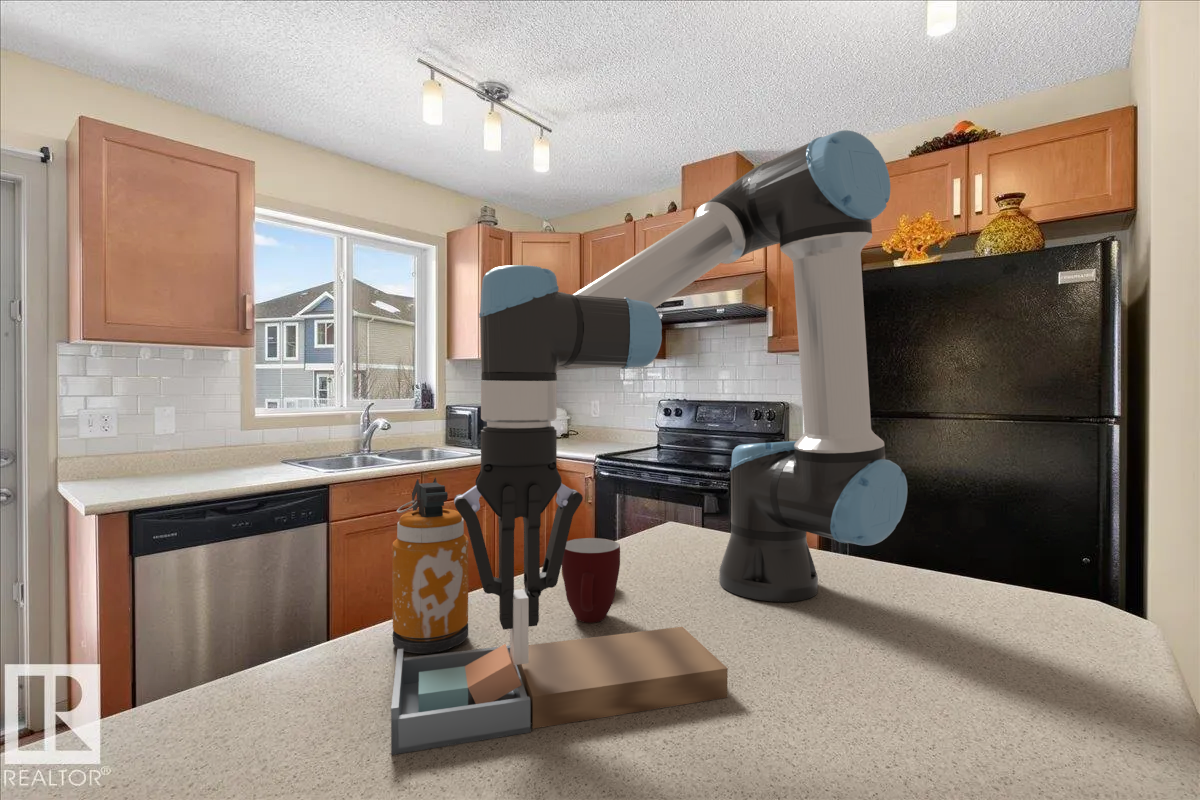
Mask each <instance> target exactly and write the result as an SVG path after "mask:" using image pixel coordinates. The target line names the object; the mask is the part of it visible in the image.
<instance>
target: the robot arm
mask: <svg viewBox="0 0 1200 800" xmlns="http://www.w3.org/2000/svg"><path fill="white" fill-rule="evenodd" d="M890 197H891V179H890V173H889V169H888V166H887V164H886V161H885V160H884V157H883V156H882V154H881V152H880V151H879V149H877V148H876V146H875V145H874V144H873V142H872V141H871V140H869V139H868V138H867V137H866V136H864V135H863V134H861V133H859V132H856V131H853V130H844V129H843V130H838V131H835V132H833V133H830V134H827V135H824V136H818V137H816V138H814V139H812V140H810V142H808V143H806V144H804V145H802V146H800V147H797V148H795V149H793V150H790V151H789V152H787V153H784V154H782V155H779V156H778V157H776V158H773V159H771V160H770V161H766V162H764V163H762V164H760V165H758V166H756V167H754V168H753V169H751V170H749V171H748V172H747V173H745V174H744V175H742V176H740V178H738V179H737V180H736V181H734V182H732V183H731V184H730V185H728V186H727V187H726V188H725V189H723V190H722V191H721V192H719V193H718V194H716V195H715V196H714V197H712V198H711V199H709V200H708V201H706V202H704V203H703V204H701V205H700V206H699V207H698V208H697V209H696V211H695V214H694V217H693V218H692V219H691V220H689V221H688V222H687V223H684V224H682V225H681V226H680V227H678V228H677V229H674V230H673V231H672V232H670V233H669V234H667V235H665V236H664V237H662V238H660V239H659V240H657V241H656V242H654V243H652V244H651V245H649V246H648V247H646V248H645V249H643V250H642V251H640V252H638V253H637V254H636V255H635V254H634V256H632V257H630V258H629V259H627V260H626V261H624V262H623V263H621V264H620V265H618V266H616V267H615V268H613V269H611V270H609V271H608V272H606V273H605V274H604V275H602V276H601V277H599V278H597V279H595V280H594V281H592V282H591V283H589V284H587V285H586V286H584V287H583V288H581V289H579V290H577V291H576V292H575V293H572V294H570V293H566V292H563V291H559V290H560V289H559V286H558V281H557V275H556V274H555V272H554V271H552V270H551V269H549V268H542V267H541V266H535V265H527V264H526V265H525V264H513V265H510V264H509V265H502V266H496V267H494V268H492V269H490V270H488V271H486V273H485V274H484V276H482V277H483V278H482V282H481V283H482V284H481V293H480V309H479V314H478V316H479V317H478V318H480V319H479V322H480V323H479V324H480V355H481V356H480V361H481V362H480V363H481V364H480V365H481V366H480V367H481V369H480V370H481V374H480V376H481V378H480V379H481V381H480V419H481V420H482V421H483V422H486V426H483V427H482V429H480V470H479V473H478V474H477V477H476V478H475V485H474V486H472V487H471V488H470V489H468V490H467V491H465V492H464V493H459V494H456V495H455V496H454V498H453V504H454V507H455V509H456V511H458V512H459V513H460V514H461V516H462V518H463V520H464V522H465V525H466V528H467V532H468V535H469V537H468V538H469V540H470V541H469V542H470V544H471V547H472V550H473V556H474V560H475V564H476V567H477V571H478V574H479V575H478V576H479V579H480V582H481V587H482V589H483V592H484V593H485V594H488V595H490V594H494V595H495V596H496V595H497V596H498V598H499V613H498V614H499V615H498V616H499V622H500V625H501V628H502V630H509V645H510V655H511V658H512V661H513V664H514V665H518V664H526V663H529V645H530V644H529V642H530V641H529V636H530V635H529V631H530V630H529V629H530V627H537V626H538V624H539V621H540V616H539V615H540V611H539V610H540V605H539V604H540V596H541V594H542V592H543V591H545V590H547V589H548V588H551V589H552V588H553V589H554V588H555V587H556V586H557V585H558V581H559V577H560V573H561V570H562V565H561V564H562V560H563V556H564V552H565V547H566V543H567V541H568V538H569V534H570V530H571V525H572V522H573V521H572V520H573V517H574V515H575V513H576V511H577V510H578V509H579V507H580V505H581V504H582V502H583V499H584V498H583V494H582V493H580V492H579V491H577V490H576V489H574V488H570V487H569V486H566V485H565V484H563V483H562V482H563V481H562V476H561V475H560V473H559V470H558V468H557V463H558V462H557V455H558V454H557V452H558V450H557V445H558V443H557V441H558V440H557V434H558V433H557V431H558V430H557V429H555V426H552V422H554V421H556V420H557V415H558V414H557V413H558V412H557V408H558V407H557V381H558V379H557V378H558V375H557V373H558V372H557V371H565V370H567V371H568V370H578V369H580V370H582V369H596V368H597V369H599V368H600V369H601V368H621V369H626V370H627V369H629V368H644V367H647V366H648V365H650V364H651V363H652V362H653V361H654V360H655V359H656V357H657V356H658V353H659V351H660V349H661V346H662V340H663V336H662V335H663V334H662V330H663V326H662V325H663V324H662V321H661V320H662V319H661V317H660V314H659V312H658V310H657V309H656V308H657V307H659V306H660V305H662V304H663V303H665V302H666V301H667V300H669V299H671V298H672V297H673V296H675V295H676V294H678V293H679V292H680V291H682V290H684V289H685V288H687V287H688V286H689V285H691V284H692V283H694V282H695V281H696V280H698V279H699V278H701V277H702V276H704V275H706V274H707V273H708V272H710V271H711V270H713V269H714V268H716V267H717V266H718V265H720V264H724V265H727V264H733V263H735V262H737V261H738V260H739V259H741V258H742V257H744V256H745V255H747V254H749V253H751V252H755V251H758V250H761V249H764V248H767V247H770V246H775V245H778V244H779V248H780V251H781V252H782V254H784V255H785V256H787V257H788V258H789V259H790V260H791V261H792V267H793V270H792V271H793V281H794V283H793V284H794V295H795V296H794V297H795V310H796V311H795V312H796V324H797V325H796V328H797V341H798V342H797V343H798V355H799V358H798V359H799V368H800V369H799V371H800V372H799V373H800V384H801V385H800V386H801V399H802V400H801V401H802V413H803V415H802V416H803V428H804V429H803V431H804V432H803V434H802V436H800V438H798V440H794V441H793V440H792V441H775V442H759V443H746V444H743V443H742V444H739V445H737V446H735V447H734V449H733V450H732V452H731V453H732V454H731V465H730V468H729V470H730V471H729V472H730V473H729V474H730V475H729V476H730V536H729V540H728V543H727V546H726V549H725V551H724V554H723V557H722V561H721V564H720V566H719V575H718V576H719V581H718V582H719V585H720V586H721V587H722V588H723V589H724V590H726V591H728V592H729V593H731V594H734V595H736V596H741V597H743V598H747V599H752V600H758V601H765V602H781V603H782V602H783V603H785V602H788V603H789V602H797V601H798V602H799V601H805V600H807V599H810V598H813V597H814V596H816V595H817V594H818V591H819V577H818V573H817V570H816V566H815V564H814V561H813V557H812V554H811V551H810V547H809V544H808V542H807V533H809V534H814V535H817V536H820V537H824V538H828V539H831V540H834V541H836V542H839V543H842V544H848V543H849V544H853V545H858V546H864V547H865V546H866V547H867V546H874V545H876V544H879V543H881V542H883V541H884V540H885V539H887V538H888V537H889V536H890V535H891V534H892V533H894V530H895V529H896V527H897V525H898V524H899V523H900V522H901V520H902V517H903V515H904V512H905V509H906V505H907V501H908V481H907V477H906V475H905V473H904V472H903V471H902V468H901V467H900V466H899V465H898V464H897V463H895V462H893V461H892V460H890V459H887V458H886V448H885V447H886V446H885V441H884V440H883V439H882V438H880V437H879V436H878V435H877V434H875V433H874V431H873V429H872V420H871V418H872V417H871V405H870V403H871V402H870V387H869V371H868V370H869V369H868V354H867V352H868V351H867V338H866V337H867V336H866V321H865V306H864V305H865V304H864V290H863V289H864V288H863V287H864V286H863V272H862V271H863V270H862V256H861V252H862V250H863V249H864V247H865V246H866V245H867V244H868V243H870V241H871V240H872V238H873V227H872V225H873V224H872V220H874V219H875V218H878V217H879V215H881V214H882V213H883V212H884V211H885V209H886V208H887V203H888V202H889V201H890ZM555 495H556V498H555V503H556V504H557V508H556V511H555V513H554V519H553V521H552V526H551V531H550V535H549V539H548V544H547V547H546V552H545V557H544V561H543V564H542V568H541V567H540V566H541V559H540V558H541V546H540V545H541V538H540V535H541V533H540V532H541V531H540V530H541V529H540V528H541V523H542V519H541V517H542V516H541V515H542V513H544V511H545V510H546V509H547V507H548V505H549V504H550V503H551V501H552V500H553V498H554V497H555ZM481 497H482V498H483V499H484V500H485V502H486V503H487V504H488V506H489V507H490V509H492V511H493V512H494V514H495V515H496V516H497V523H498V577H495V576H494V575H493V570H492V568H491V563H490V559H489V555H488V550H487V547H486V542H485V539H484V536H483V535H484V534H483V532H482V528H481V524H480V519H479V517H478V515H477V512H478V511H480V508H481V504H480V498H481ZM518 518H522V521H523V585H524V588H523V589H522V588H521V589H515V527H516V520H515V519H518ZM540 570H541V572H540Z"/></svg>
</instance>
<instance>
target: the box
mask: <svg viewBox="0 0 1200 800" xmlns="http://www.w3.org/2000/svg"><path fill="white" fill-rule="evenodd" d="M506 646H507V648H508V650H509V653H510V644H508V645H506ZM499 647H500V646H494V647H486V648H485V647H484V648H477V649H468V650H461V651H458V650H457V651H451V652H443V653H441V652H440V653H432V654H424V655H419V656H409V657H404V651H403V649H398V648H397V650H396V660H395V668H394V670H395V671H394V679H393V686H392V697H391V708H390V727H391V728H390V731H391V732H390V734H391V735H390V737H391V739H390V741H391V742H390V744H391V745H390V751H391V752H390V754H391V756H392V755H399V754H405V753H411V752H412V753H413V752H418V751H423V750H430V749H435V748H442V747H447V746H455V745H459V744H460V745H461V744H467V743H473V742H479V741H485V740H491V739H498V738H503V737H509V736H515V735H521V734H528V733H531V722H530V697H527V694H526V691H525V688H524V685H523V682H522V679H521V676H520V673H519V670H518V667H517V665H515V666H516V669H517V672H518V675H519V678H520V681H521V684H522V685H521V686H519V687H518V688H516V689H514V690H512V691H511V692H509V693H507V694H505V695H504V696H502V697H500V698H499V699H497V700H495V701H493V702H488V703H481V704H476V703H475V701H474V699H473V697H472V695H471V693H470V691H469V689H468V705H467V706H460V707H453V708H446V709H439V710H432V711H425V712H419V698H418V694H419V672H424V671H431V670H439V669H447V668H455V667H463V666H466V665H468V664H470V663H472V662H473V661H475V660H477V659H479V658H481V657H482V656H484V655H486V654H488V653H490V652H491V651H493V650H495V649H497V648H499Z"/></svg>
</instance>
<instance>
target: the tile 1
mask: <svg viewBox="0 0 1200 800" xmlns="http://www.w3.org/2000/svg"><path fill="white" fill-rule="evenodd" d="M418 698H419V712H425V711H432V710H439V709H446V708H453V707H460V706H467V705H468V685H467V678H466V671H465V666H463V667H455V668H447V669H439V670H431V671H424V672H419V694H418Z"/></svg>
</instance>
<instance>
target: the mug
mask: <svg viewBox="0 0 1200 800" xmlns="http://www.w3.org/2000/svg"><path fill="white" fill-rule="evenodd" d="M620 568H621V546H620V543H619V542H618V541H615V540H612V539H608V538H607V539H606V538H601V537H584V538H574V539H569V540H567V543H566V547H565V552H564V556H563V560H562V564H561V573H562V572H563V577H562V579H563V578H564V580H563V582H564V588H565V590H564V591H565V596H566V599H567V603H568V605H569V607H570V610H571V611H572V613H573V615H574V617H575V619H576V620H578V621H579V622H581V623H586V624H587V623H588V624H595V623H600V622H602V621H603V620H604V619H605V618H606V617H607V615H608V613H609V612H610V609H611V607H612V605H613V603H614V600H615V596H616V591H617V586H618V580H619V573H620Z"/></svg>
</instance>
